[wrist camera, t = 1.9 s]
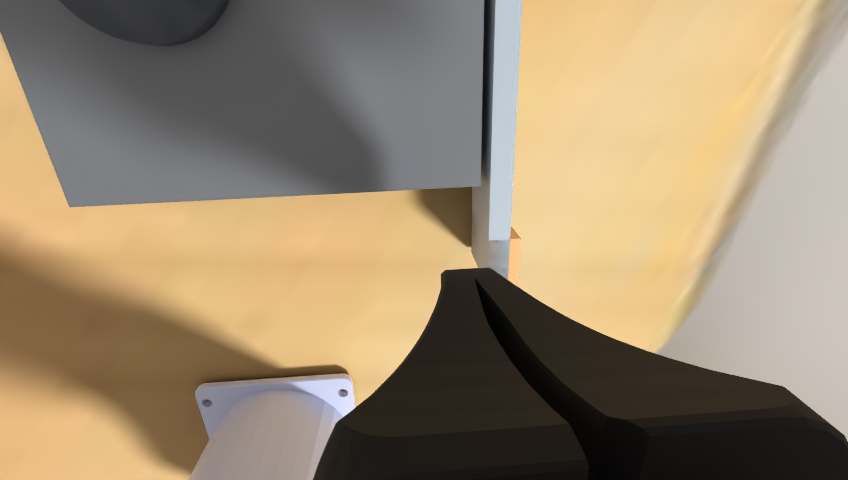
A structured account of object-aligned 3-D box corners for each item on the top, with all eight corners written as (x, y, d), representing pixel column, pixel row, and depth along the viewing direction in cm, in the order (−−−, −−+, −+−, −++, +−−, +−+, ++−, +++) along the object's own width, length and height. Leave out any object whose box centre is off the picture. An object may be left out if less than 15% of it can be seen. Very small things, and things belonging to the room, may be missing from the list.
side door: (496, 250, 18) (517, 286, 15) (471, 251, 18) (487, 288, 15) (509, -100, 13) (545, -159, 10) (475, -100, 13) (499, -158, 10)
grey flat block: (464, 166, 17) (485, 192, 13) (134, 182, 16) (50, 214, 12) (465, -185, 13) (497, -308, 9) (18, -181, 12) (-169, -312, 8)
